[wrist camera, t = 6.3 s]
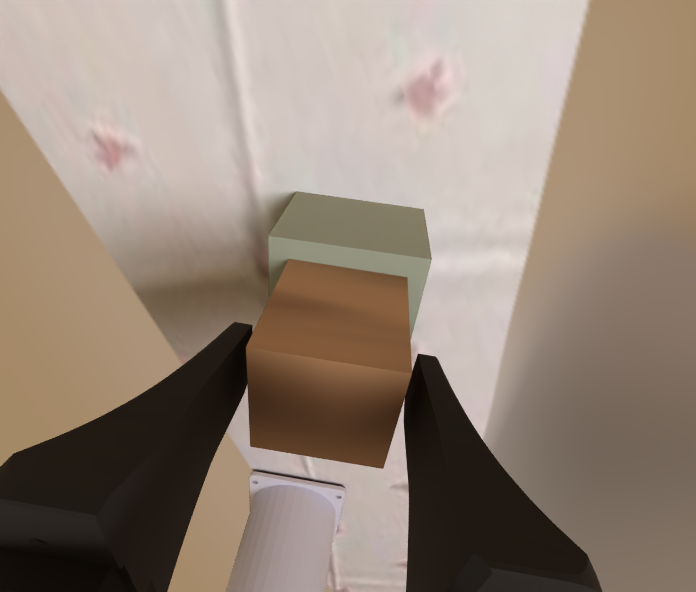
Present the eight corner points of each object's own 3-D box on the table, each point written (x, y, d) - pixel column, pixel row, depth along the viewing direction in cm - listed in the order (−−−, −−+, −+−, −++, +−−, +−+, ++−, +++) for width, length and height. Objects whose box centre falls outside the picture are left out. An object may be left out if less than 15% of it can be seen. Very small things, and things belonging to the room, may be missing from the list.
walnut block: (386, 363, 17) (383, 468, 13) (285, 347, 17) (250, 446, 13) (407, 277, 14) (412, 374, 10) (289, 258, 14) (246, 346, 10)
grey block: (400, 310, 21) (401, 375, 17) (294, 294, 21) (269, 355, 17) (423, 208, 18) (431, 259, 14) (297, 190, 18) (268, 235, 14)
